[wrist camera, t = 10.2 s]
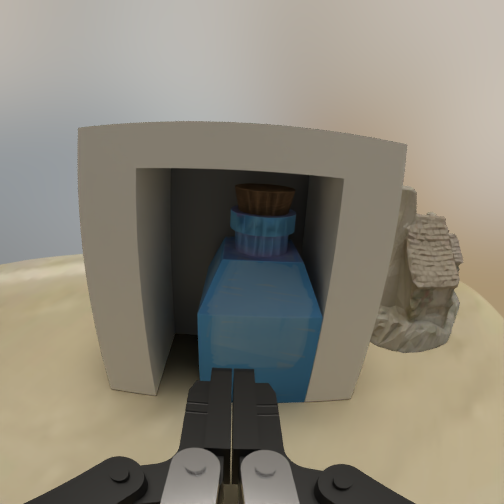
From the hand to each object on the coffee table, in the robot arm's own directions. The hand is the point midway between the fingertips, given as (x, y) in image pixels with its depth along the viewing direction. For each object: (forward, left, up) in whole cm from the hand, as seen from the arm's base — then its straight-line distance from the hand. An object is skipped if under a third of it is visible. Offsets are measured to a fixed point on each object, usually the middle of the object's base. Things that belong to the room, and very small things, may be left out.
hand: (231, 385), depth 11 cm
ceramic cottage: (+18, +17, -6) cm, 25 cm away
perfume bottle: (+1, +8, -6) cm, 10 cm away
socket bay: (0, +9, -6) cm, 11 cm away
